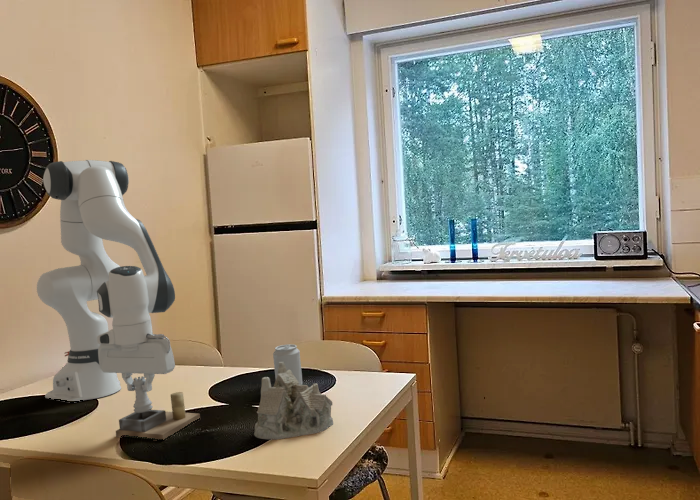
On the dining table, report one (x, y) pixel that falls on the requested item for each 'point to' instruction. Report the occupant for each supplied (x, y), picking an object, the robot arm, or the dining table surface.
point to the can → (288, 360)
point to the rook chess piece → (141, 397)
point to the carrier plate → (157, 421)
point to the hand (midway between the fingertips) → (139, 390)
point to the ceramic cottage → (291, 408)
